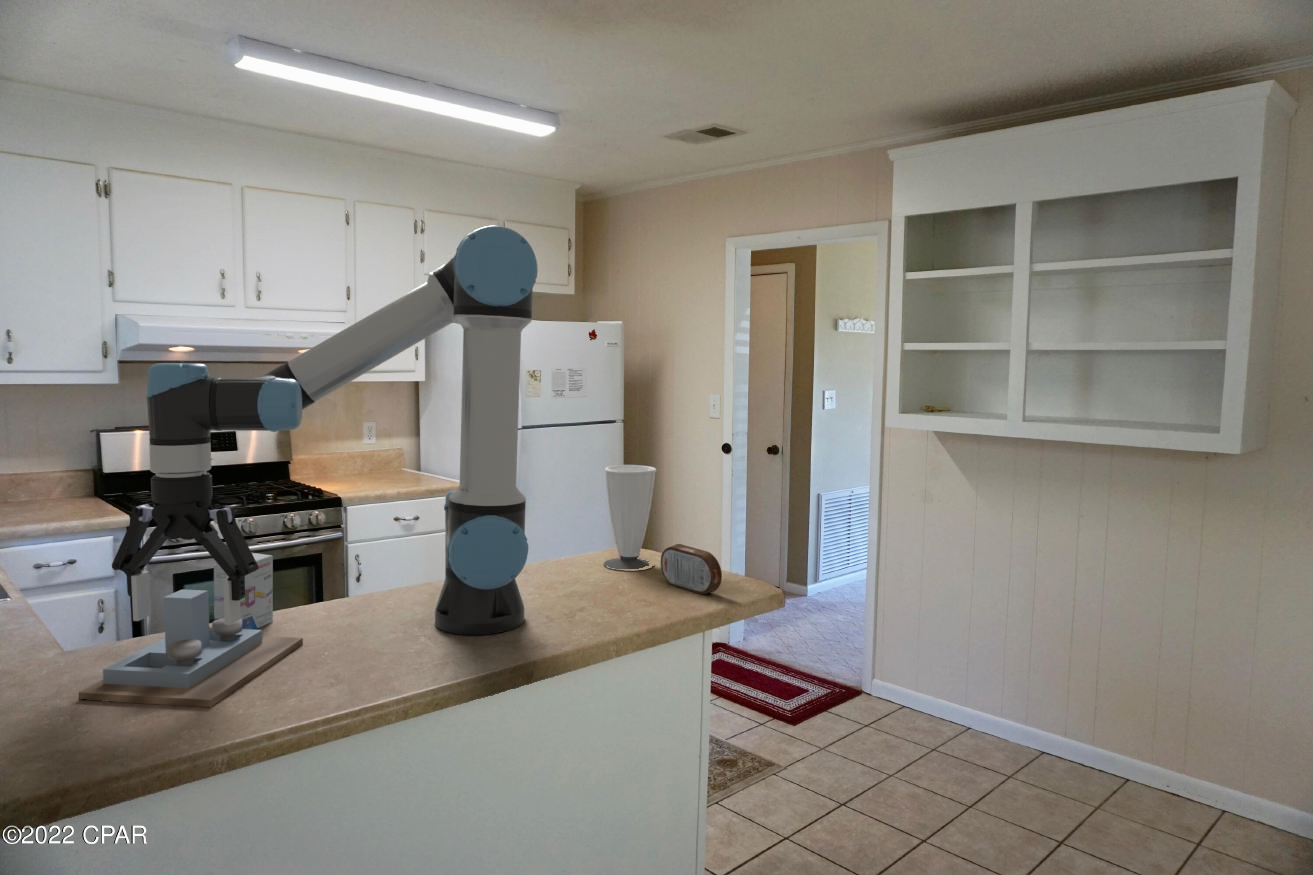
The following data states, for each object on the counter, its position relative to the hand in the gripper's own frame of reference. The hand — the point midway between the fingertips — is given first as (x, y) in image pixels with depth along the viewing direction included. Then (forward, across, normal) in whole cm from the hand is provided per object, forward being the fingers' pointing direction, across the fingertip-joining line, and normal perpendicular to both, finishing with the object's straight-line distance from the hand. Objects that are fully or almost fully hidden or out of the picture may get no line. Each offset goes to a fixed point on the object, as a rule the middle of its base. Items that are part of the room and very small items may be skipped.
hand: (187, 620), depth 121 cm
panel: (+6, 0, 0) cm, 6 cm away
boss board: (+7, -2, 0) cm, 7 cm away
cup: (+8, -56, -70) cm, 90 cm away
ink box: (+7, +2, -18) cm, 19 cm away
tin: (+8, -70, -53) cm, 88 cm away
